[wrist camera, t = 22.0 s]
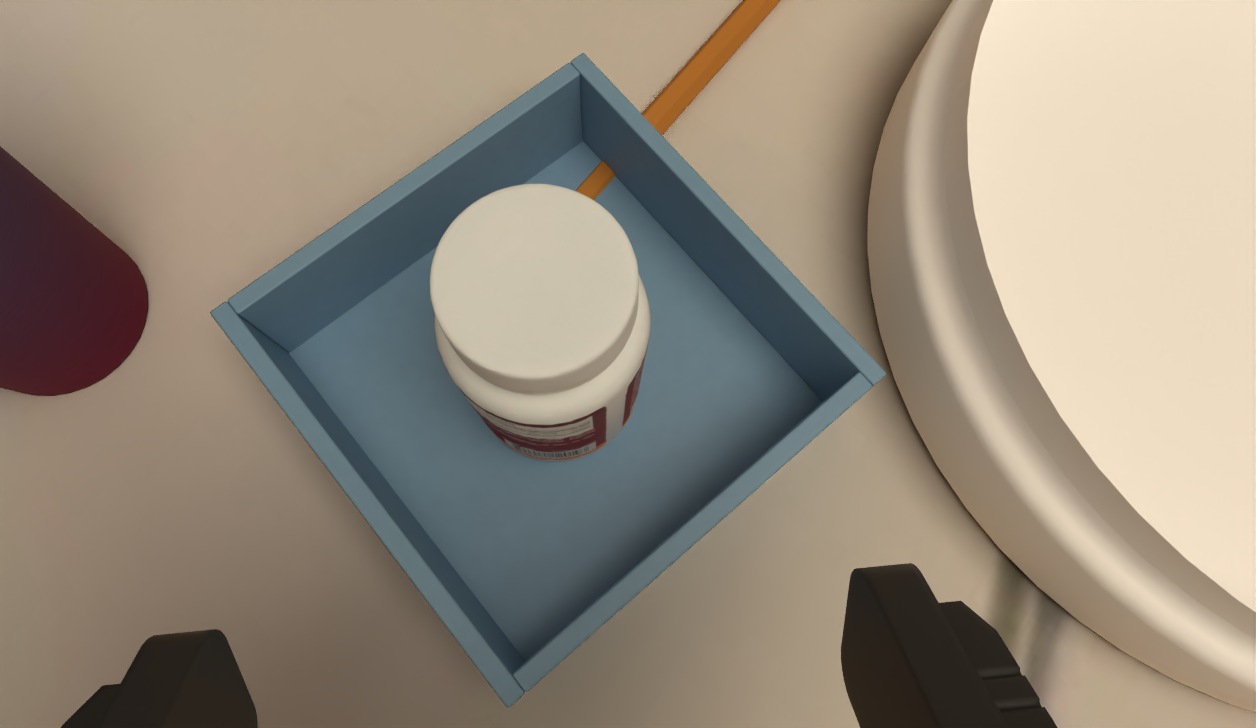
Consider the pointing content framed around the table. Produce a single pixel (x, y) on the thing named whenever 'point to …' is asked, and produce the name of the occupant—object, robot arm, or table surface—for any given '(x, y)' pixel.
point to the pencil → (691, 79)
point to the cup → (60, 291)
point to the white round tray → (1088, 307)
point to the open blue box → (465, 446)
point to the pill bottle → (542, 319)
